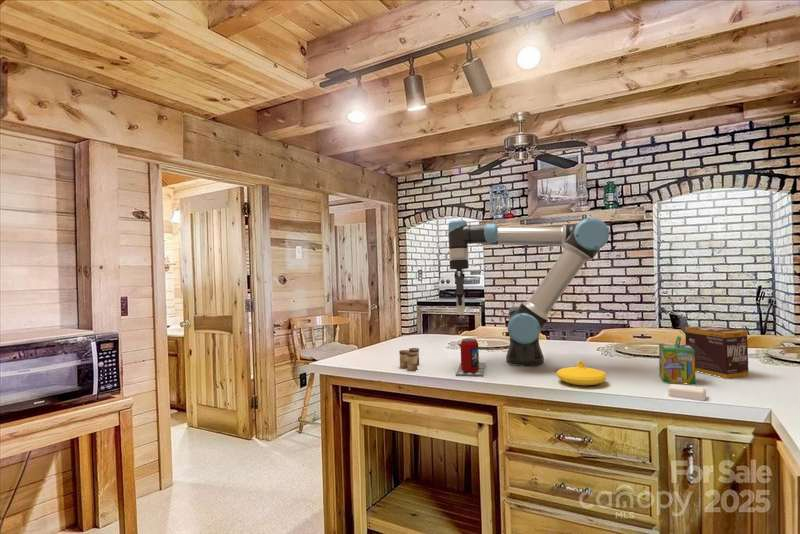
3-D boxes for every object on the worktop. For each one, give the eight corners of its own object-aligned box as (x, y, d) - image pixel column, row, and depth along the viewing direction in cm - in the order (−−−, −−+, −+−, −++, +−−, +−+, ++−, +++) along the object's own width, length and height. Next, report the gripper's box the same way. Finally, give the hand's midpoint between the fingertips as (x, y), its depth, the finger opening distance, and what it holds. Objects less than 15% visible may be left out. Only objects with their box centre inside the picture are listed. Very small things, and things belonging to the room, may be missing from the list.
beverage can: (479, 373, 163) (478, 340, 164) (460, 372, 165) (459, 340, 165) (479, 369, 170) (478, 338, 170) (461, 369, 171) (460, 338, 172)
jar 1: (410, 366, 182) (410, 350, 182) (408, 368, 178) (408, 352, 178) (401, 366, 183) (400, 350, 183) (398, 368, 179) (398, 351, 179)
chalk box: (659, 376, 154) (657, 334, 154) (690, 378, 150) (688, 334, 150) (663, 383, 145) (662, 338, 145) (696, 385, 142) (694, 339, 142)
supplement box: (726, 379, 148) (725, 332, 148) (685, 369, 162) (684, 327, 162) (750, 376, 150) (748, 330, 150) (707, 367, 165) (706, 325, 165)
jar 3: (418, 369, 177) (418, 352, 177) (416, 371, 173) (416, 354, 173) (408, 368, 178) (407, 351, 178) (406, 371, 174) (405, 353, 174)
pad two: (485, 364, 182) (485, 362, 182) (484, 369, 172) (484, 367, 172) (460, 363, 184) (460, 361, 184) (458, 369, 174) (458, 367, 174)
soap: (706, 397, 129) (706, 387, 129) (704, 402, 125) (704, 391, 125) (670, 393, 135) (670, 383, 135) (668, 397, 131) (667, 387, 131)
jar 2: (420, 364, 186) (419, 348, 186) (418, 366, 182) (417, 349, 182) (410, 363, 187) (410, 347, 187) (408, 366, 183) (408, 349, 183)
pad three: (484, 370, 171) (484, 368, 171) (482, 376, 161) (482, 374, 161) (458, 369, 173) (458, 367, 173) (455, 375, 164) (455, 373, 164)
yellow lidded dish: (548, 384, 149) (547, 363, 149) (568, 375, 160) (568, 355, 160) (596, 392, 138) (595, 369, 138) (614, 382, 149) (613, 361, 149)
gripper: (451, 260, 190) (453, 309, 190) (447, 259, 165) (450, 315, 165) (468, 259, 189) (470, 309, 188) (467, 258, 164) (470, 315, 164)
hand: (461, 312), depth 177 cm, fingers open, 13 cm apart
